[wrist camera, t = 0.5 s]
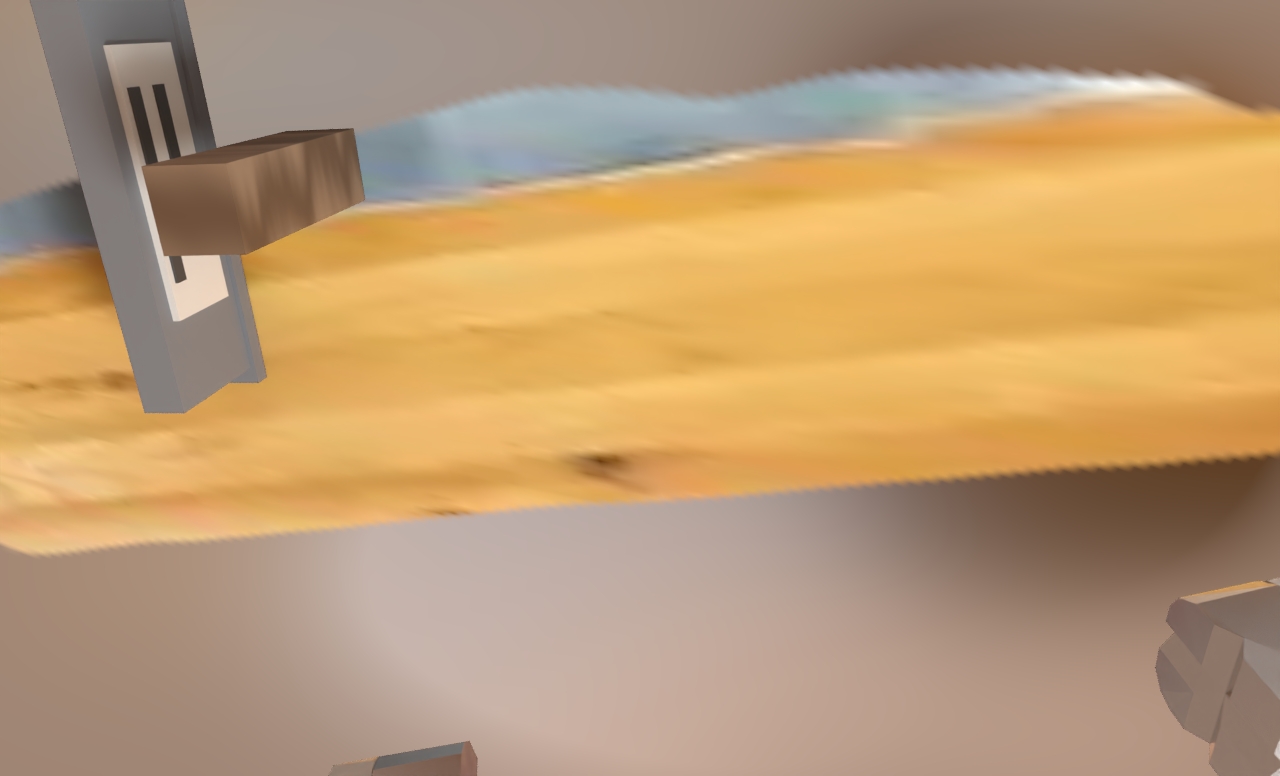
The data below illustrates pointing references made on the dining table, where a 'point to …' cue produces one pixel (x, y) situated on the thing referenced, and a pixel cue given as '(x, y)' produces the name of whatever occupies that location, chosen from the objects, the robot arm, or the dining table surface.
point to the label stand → (118, 198)
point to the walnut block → (252, 191)
